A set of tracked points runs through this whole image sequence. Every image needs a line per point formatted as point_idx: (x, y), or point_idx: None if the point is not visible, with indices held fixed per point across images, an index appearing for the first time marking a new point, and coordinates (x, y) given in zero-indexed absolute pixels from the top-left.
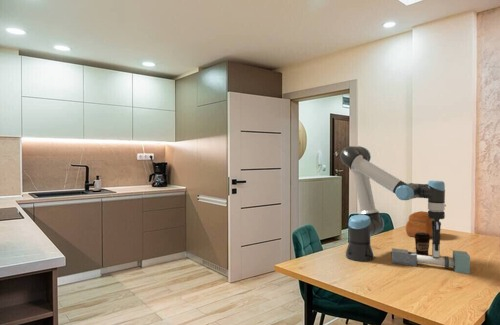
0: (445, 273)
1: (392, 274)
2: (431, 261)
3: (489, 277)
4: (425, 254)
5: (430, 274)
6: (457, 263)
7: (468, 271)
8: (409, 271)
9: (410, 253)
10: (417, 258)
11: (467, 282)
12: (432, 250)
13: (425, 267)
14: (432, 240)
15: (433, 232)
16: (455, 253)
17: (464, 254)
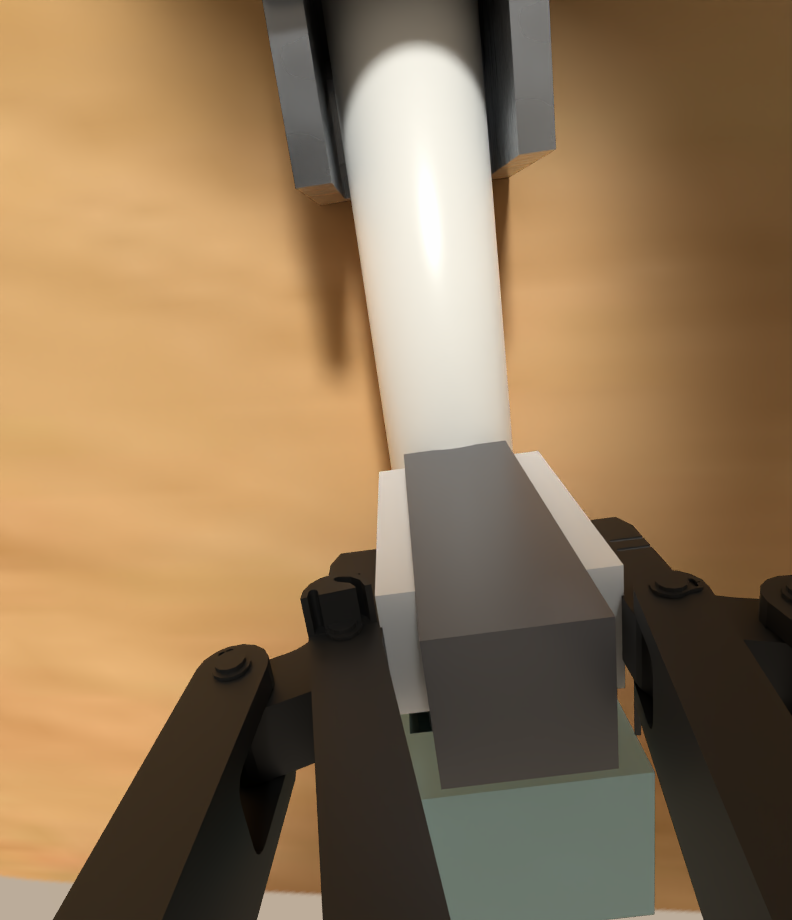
0: (246, 548)
1: None
2: (384, 417)
3: None
4: None
5: (87, 399)
6: None
7: None
8: (13, 121)
9: (502, 28)
10: (352, 200)
11: (86, 723)
12: (493, 483)
13: (353, 322)
14: (566, 596)
15: (736, 855)
16: (457, 805)
17: (465, 896)
